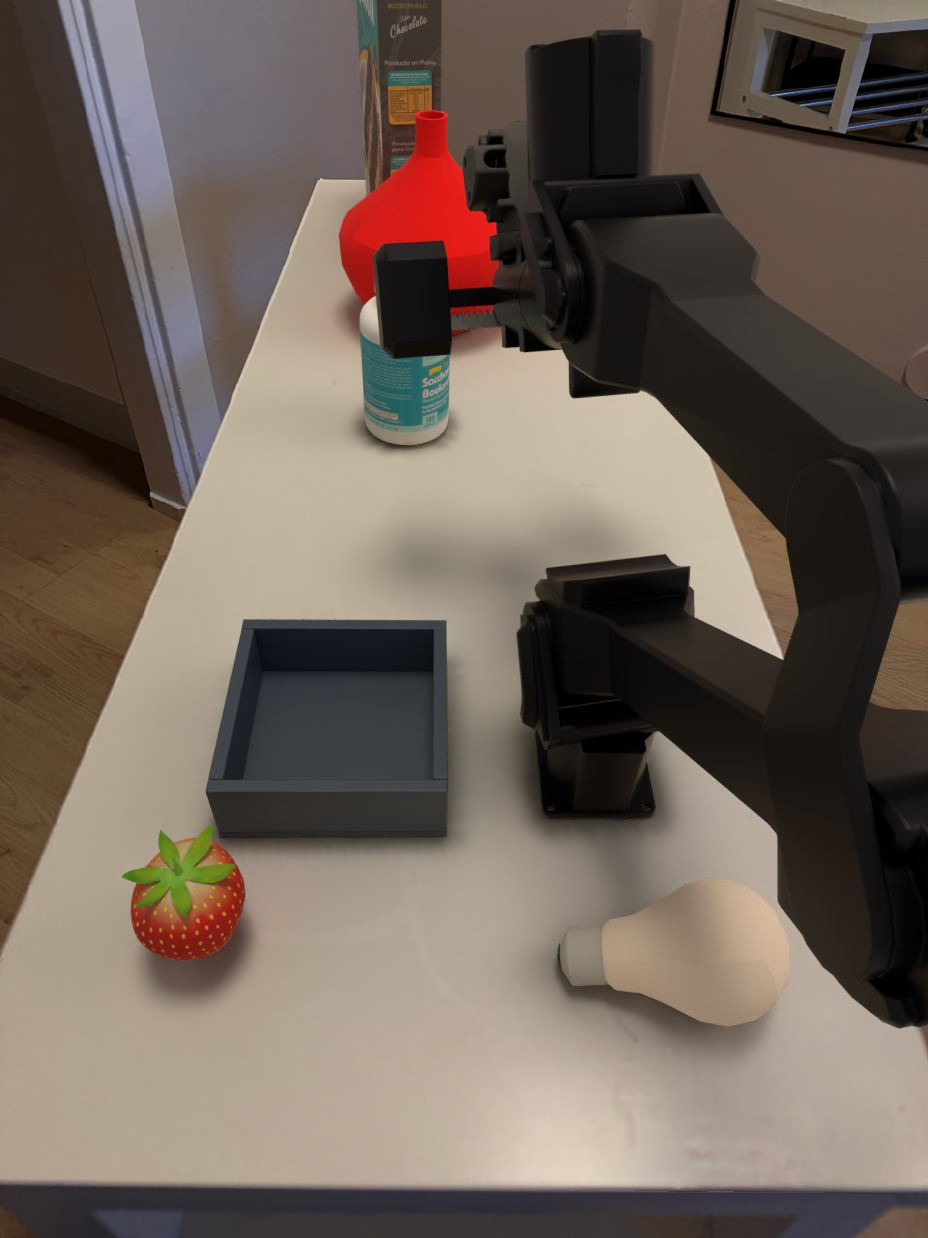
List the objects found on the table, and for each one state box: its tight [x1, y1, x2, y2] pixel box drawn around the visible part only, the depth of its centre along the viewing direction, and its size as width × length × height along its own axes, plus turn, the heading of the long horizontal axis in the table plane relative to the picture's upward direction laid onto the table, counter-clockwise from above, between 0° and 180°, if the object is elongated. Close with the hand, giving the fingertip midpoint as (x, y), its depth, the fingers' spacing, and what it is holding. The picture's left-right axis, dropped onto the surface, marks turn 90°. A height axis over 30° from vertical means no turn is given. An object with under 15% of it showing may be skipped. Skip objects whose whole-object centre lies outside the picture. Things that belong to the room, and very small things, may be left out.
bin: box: [205, 618, 449, 838], centre depth 51 cm, size 13×13×4 cm
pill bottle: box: [358, 290, 451, 446], centre depth 73 cm, size 8×7×14 cm
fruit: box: [120, 823, 246, 961], centre depth 41 cm, size 5×5×8 cm
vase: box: [338, 110, 499, 336], centre depth 86 cm, size 18×18×19 cm
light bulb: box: [556, 877, 792, 1027], centre depth 42 cm, size 7×7×11 cm
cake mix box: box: [355, 0, 443, 197], centre depth 95 cm, size 22×6×30 cm, turn 10°
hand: (502, 292), depth 59 cm, fingers open, 9 cm apart
